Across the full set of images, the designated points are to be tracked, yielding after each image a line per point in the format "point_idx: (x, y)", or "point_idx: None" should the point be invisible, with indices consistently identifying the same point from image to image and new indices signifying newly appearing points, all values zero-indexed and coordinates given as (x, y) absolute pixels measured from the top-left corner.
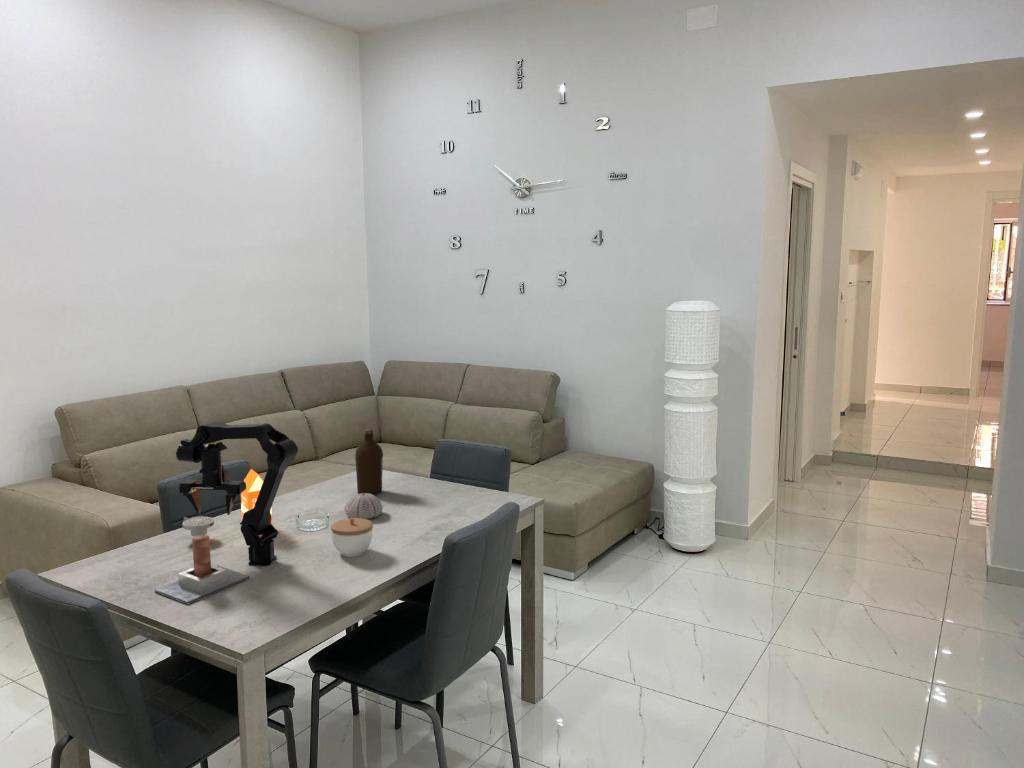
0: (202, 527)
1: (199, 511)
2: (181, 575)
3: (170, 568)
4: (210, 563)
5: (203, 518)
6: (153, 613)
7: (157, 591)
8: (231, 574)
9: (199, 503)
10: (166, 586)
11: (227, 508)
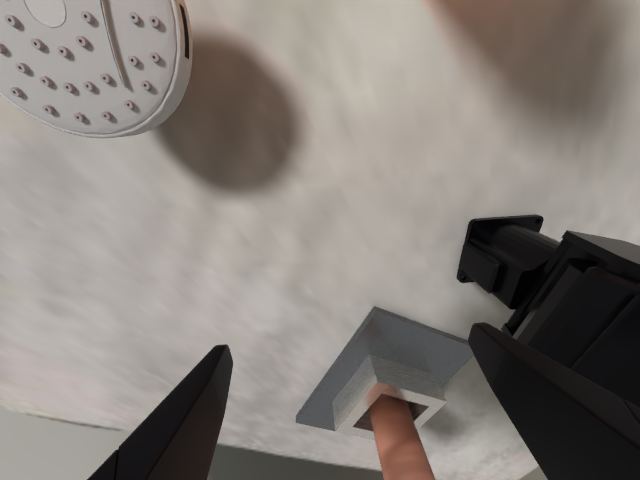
0: (168, 109)
1: (226, 373)
2: (346, 431)
3: (245, 326)
4: (419, 437)
5: None
6: (341, 458)
7: (304, 422)
8: (433, 349)
9: (181, 441)
10: (311, 411)
11: (521, 421)
